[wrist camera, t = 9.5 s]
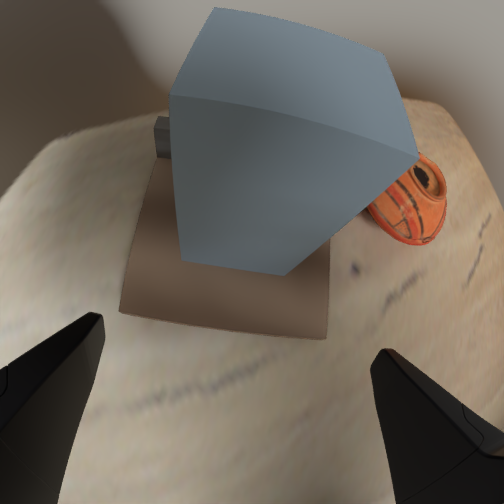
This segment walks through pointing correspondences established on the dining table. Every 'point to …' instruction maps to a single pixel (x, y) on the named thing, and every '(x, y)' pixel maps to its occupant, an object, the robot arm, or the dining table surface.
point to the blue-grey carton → (279, 140)
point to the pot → (413, 204)
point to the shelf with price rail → (215, 275)
